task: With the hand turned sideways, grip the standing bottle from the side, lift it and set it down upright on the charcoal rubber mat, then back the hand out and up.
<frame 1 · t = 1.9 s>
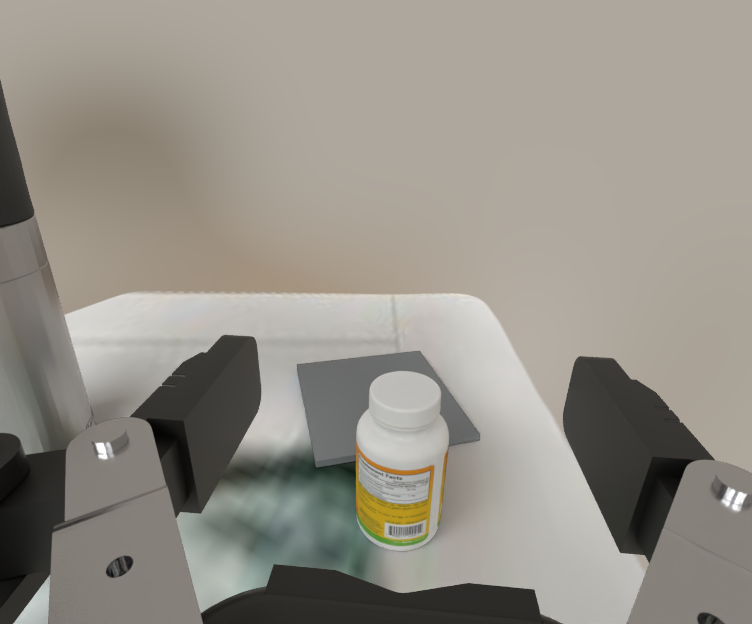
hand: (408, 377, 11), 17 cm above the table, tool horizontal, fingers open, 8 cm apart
supplement bottle: (397, 518, 29), on the table
mat: (377, 400, 40), on the table
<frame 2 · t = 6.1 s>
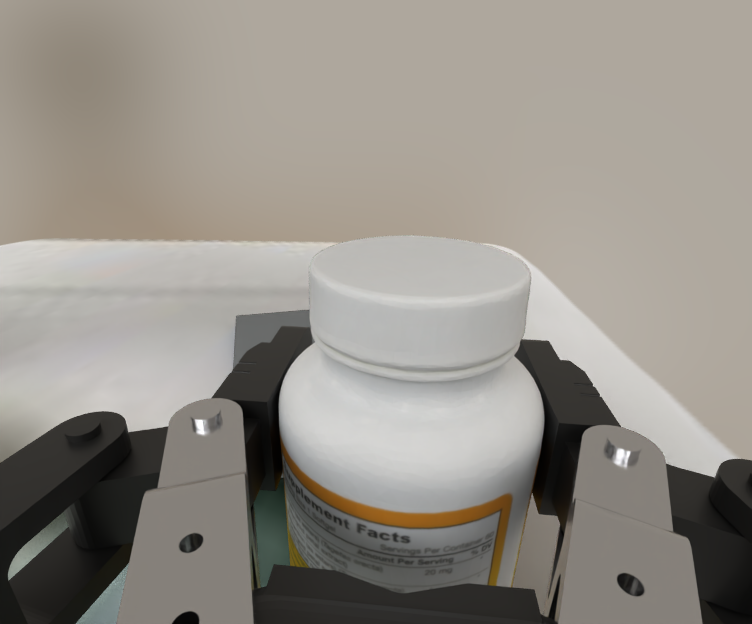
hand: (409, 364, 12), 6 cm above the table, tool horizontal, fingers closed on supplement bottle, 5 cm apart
supplement bottle: (396, 612, 12), on the table, touching gripper
mat: (362, 367, 23), on the table
when the fingers open (7 cm above the table, at t = 11.5 s): supplement bottle stays where it is, resting on mat.
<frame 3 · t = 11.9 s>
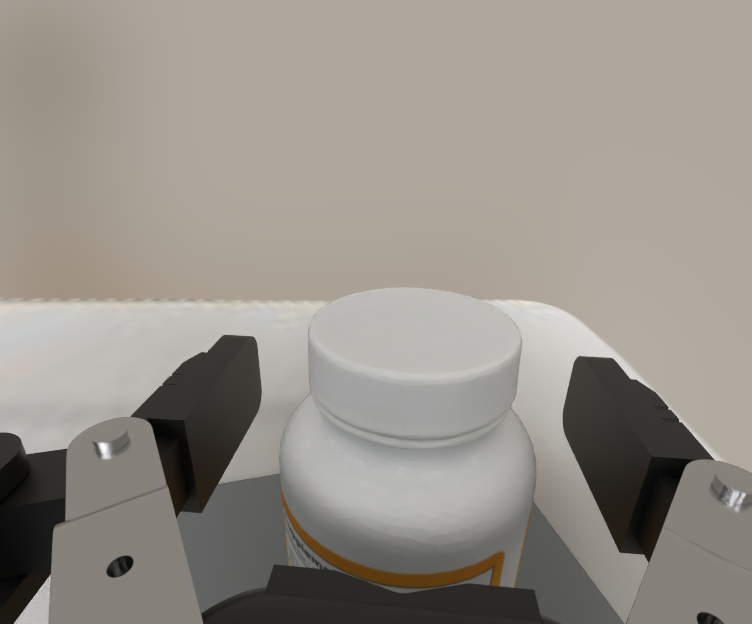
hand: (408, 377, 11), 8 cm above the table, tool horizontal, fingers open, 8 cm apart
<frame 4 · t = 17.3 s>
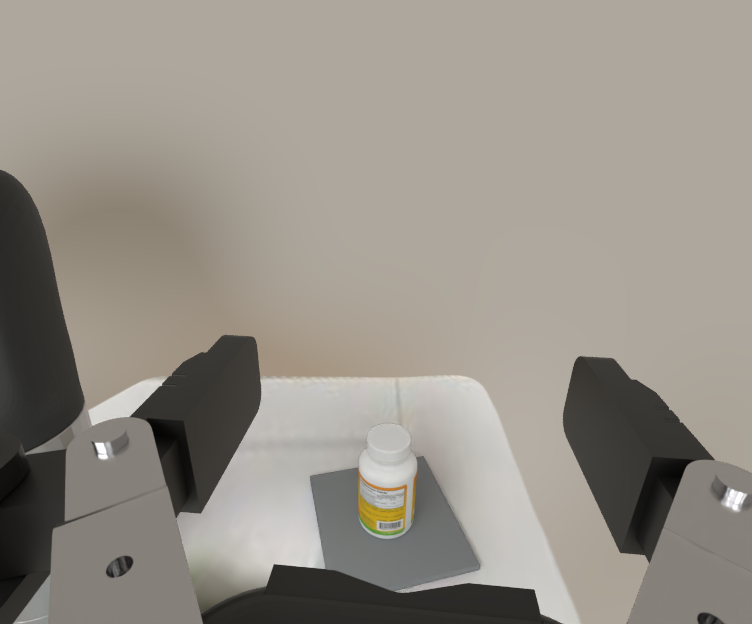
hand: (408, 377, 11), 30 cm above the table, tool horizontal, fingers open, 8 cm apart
supplement bottle: (385, 518, 43), resting on mat
mat: (385, 520, 43), on the table
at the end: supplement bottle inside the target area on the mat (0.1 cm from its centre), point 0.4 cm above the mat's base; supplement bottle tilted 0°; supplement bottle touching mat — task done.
